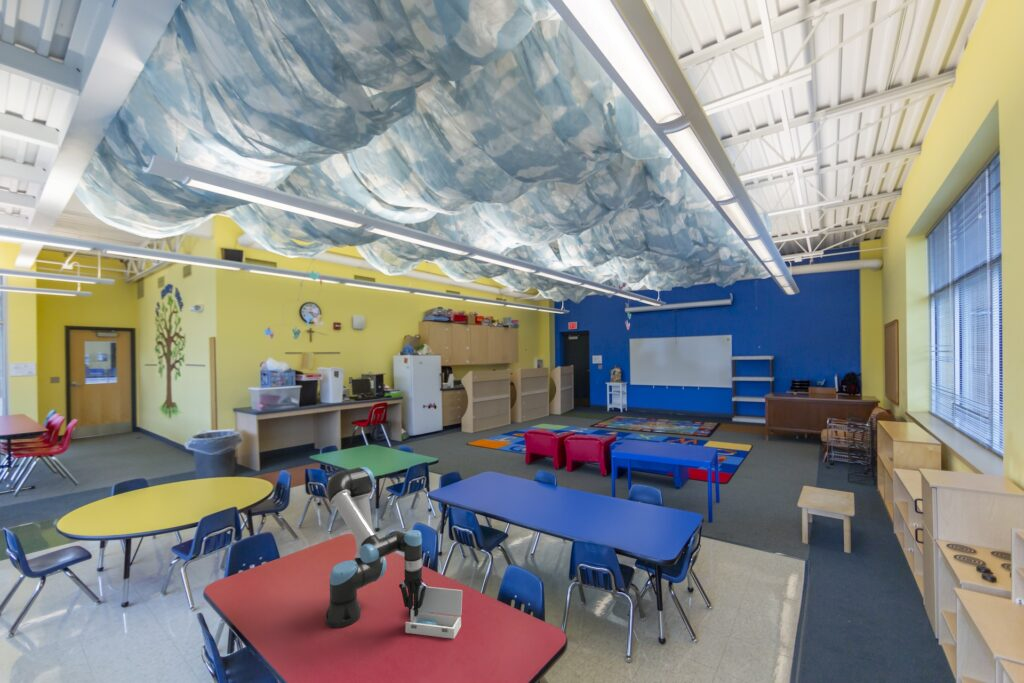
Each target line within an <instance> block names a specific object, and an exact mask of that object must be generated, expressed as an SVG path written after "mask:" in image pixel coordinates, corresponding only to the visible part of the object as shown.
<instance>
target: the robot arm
mask: <svg viewBox="0 0 1024 683" xmlns="http://www.w3.org/2000/svg"><path fill="white" fill-rule="evenodd" d="M375 483H376V482H375V476H374V473H373V471H372V470H371V469H370V468H368V467H366V466H362V467H355V468H352V469H347V470H343V471H338V472H336V473H334V474H333V475H332V476H331V477H330V479H329V480H328V481H327V484H326V489H325V490H326V497H327V500H328V502H329V503H330V504H331V506H332V507H335V509H337V512H338V513H339V514H340V516H341V518H342V519H343V521H344V522H345V524H346V525H347V527H348V529H349V530H350V531H351V533H352V535H353V536H354V538H355V545H356V546H355V547H356V553H355V555H354V559H353V560H352V559H350V560H349V559H348V560H343V561H341V562H339V563H337V564H336V565H334V566H333V567H332V569H331V570H330V572H329V603H328V607H327V611H326V613H325V620H324V622H325V625H326V626H328V628H333V629H338V628H344V627H348V626H350V625H352V624H354V623H356V622H358V621H359V620H360V619H361V616H362V610H361V607H360V604H359V601H358V590H359V589H361V588H363V587H366V586H368V585H369V584H371V583H374V582H376V581H378V580H379V579H381V578H383V576H384V574H385V573H386V571H387V558H386V556H389V555H391V554H393V553H396V552H401V553H403V554H404V580H403V581H401V582H400V583H399V584H398V588H399V589H400V592H401V596H402V601H403V606H404V607H405V608H408V616H409V617H410V622H413V623H415V622H416V617H417V615H418V612H419V611H418V608H420V607H421V606H422V604H423V599H424V595H425V590H426V588H427V587H429V585H428V584H427V583H426V584H425V583H424V580H423V579H422V578H423V556H422V555H423V554H422V553H423V552H422V550H423V548H422V546H423V544H422V543H423V539H422V538H423V537H422V532H421V531H420V530H418V529H410V530H408V531H406V532H402V531H400V530H394V529H393V530H389V531H388V532H387V533H386V534H385V536H384V537H381V538H379V537H378V535H377V534H376V532H375V531H374V528H373V521H372V520H373V518H372V512H371V505H370V498H369V497H370V496H371V495H372V490H371V489H372V488H373V487H374V485H375ZM420 586H421V589H422V590H421V593H420V598H419V587H420Z"/></svg>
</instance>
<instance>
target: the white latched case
mask: <svg viewBox="0 0 1024 683" xmlns="http://www.w3.org/2000/svg"><path fill="white" fill-rule="evenodd" d="M417 620H425V621H431V622H435V623H436V624H437V625H430V624H422V623H413V622H411V621H405V633H406V634H412V635H415V634H416V635H422V636H430V637H436V638H444V639H445V638H446V639H453V640H455V638H456V636H457V634H458V633H459V631H460V629H461V627H462V617H461V616H457V615H448V614H439V613H424V612H420V611H418V615H417V617H416V621H417Z"/></svg>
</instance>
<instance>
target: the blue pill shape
mask: <svg viewBox="0 0 1024 683" xmlns="http://www.w3.org/2000/svg"><path fill="white" fill-rule="evenodd" d="M415 623H422V624H430V625H437V624H436V623H435V622H431V621H425V620H417V621H416V622H415Z"/></svg>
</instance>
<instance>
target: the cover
mask: <svg viewBox="0 0 1024 683" xmlns="http://www.w3.org/2000/svg"><path fill="white" fill-rule="evenodd" d="M421 590H422V589H421V586H420V587H419V598H420V593H421ZM462 604H463V590H462V589H456V588H455V589H453V588H445V587H434V586H427V588H426V590H425V595H424V599H423V604H422V606H421V607H420V608H418V612H420V611H422V612H431V613H432V614H441V615H450V616H459V617H461V616H462V611H463V610H462V608H463V605H462Z"/></svg>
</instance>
